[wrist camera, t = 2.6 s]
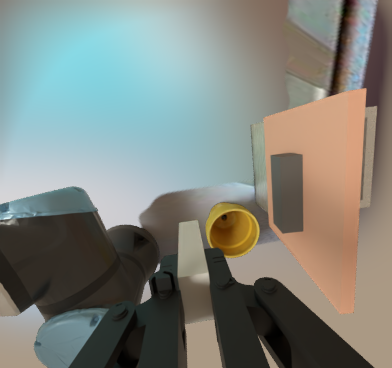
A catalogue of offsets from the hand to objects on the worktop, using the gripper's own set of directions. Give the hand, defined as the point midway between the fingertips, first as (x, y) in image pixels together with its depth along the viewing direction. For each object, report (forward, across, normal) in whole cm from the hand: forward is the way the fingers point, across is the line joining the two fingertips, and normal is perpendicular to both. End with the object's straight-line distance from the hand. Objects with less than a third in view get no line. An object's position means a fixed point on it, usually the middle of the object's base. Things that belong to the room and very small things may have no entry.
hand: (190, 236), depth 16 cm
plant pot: (+30, +8, -11) cm, 33 cm away
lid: (+9, +14, 0) cm, 17 cm away
